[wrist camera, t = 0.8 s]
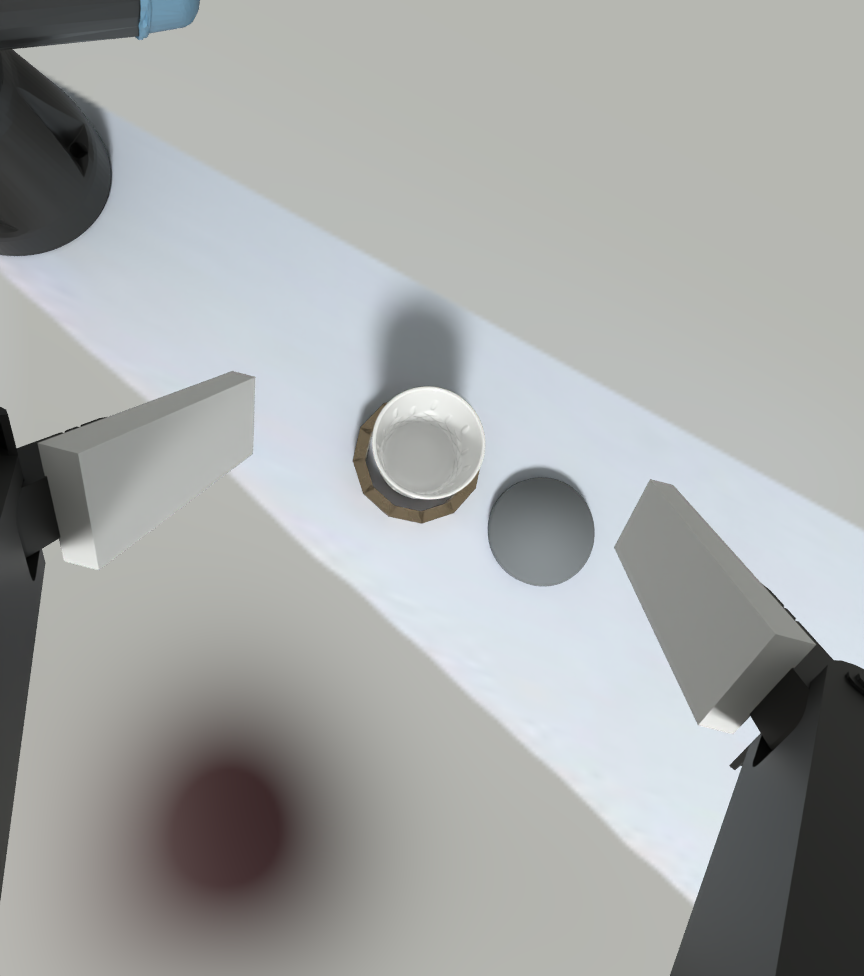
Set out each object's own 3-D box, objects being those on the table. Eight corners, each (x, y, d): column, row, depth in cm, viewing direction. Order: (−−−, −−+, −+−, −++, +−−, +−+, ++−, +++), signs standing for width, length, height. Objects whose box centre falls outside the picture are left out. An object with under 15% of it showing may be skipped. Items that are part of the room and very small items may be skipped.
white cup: (373, 418, 39) (371, 385, 29) (457, 419, 40) (483, 386, 30) (374, 504, 38) (372, 500, 28) (459, 503, 39) (487, 498, 29)
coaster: (466, 535, 39) (468, 536, 38) (534, 457, 40) (538, 455, 39) (544, 606, 40) (548, 609, 39) (609, 526, 41) (614, 527, 40)
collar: (330, 464, 38) (327, 461, 36) (412, 378, 39) (414, 371, 37) (420, 546, 38) (423, 547, 36) (498, 458, 40) (504, 455, 38)
